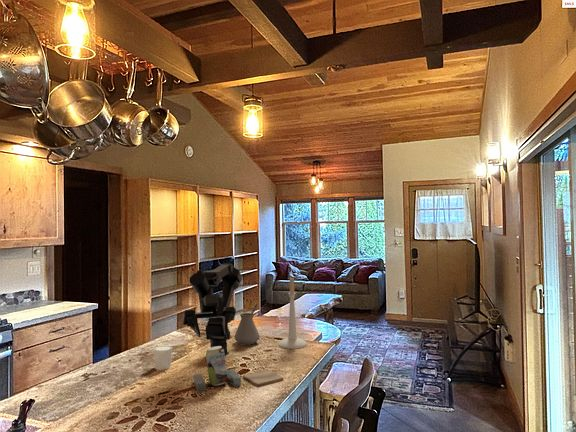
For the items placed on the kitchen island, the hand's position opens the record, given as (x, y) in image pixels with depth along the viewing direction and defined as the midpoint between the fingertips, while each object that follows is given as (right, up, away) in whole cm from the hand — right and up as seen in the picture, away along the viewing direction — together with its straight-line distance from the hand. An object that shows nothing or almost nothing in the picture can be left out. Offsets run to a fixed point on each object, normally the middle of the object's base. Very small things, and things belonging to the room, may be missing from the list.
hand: (212, 335), depth 139 cm
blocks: (+3, -13, -9) cm, 16 cm away
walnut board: (+18, -13, -4) cm, 23 cm away
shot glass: (-20, -15, +9) cm, 27 cm away
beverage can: (+3, -14, -9) cm, 16 cm away
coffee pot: (+9, -16, +46) cm, 49 cm away
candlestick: (+28, -15, +37) cm, 49 cm away
